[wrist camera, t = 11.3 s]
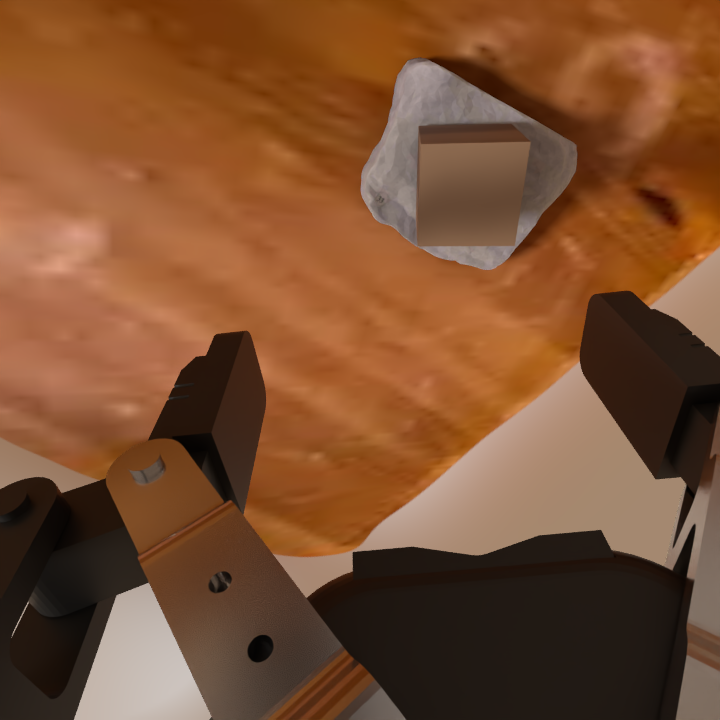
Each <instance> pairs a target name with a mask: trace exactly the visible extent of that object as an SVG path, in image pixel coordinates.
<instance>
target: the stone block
mask: <svg viewBox="0 0 720 720" xmlns="http://www.w3.org/2000/svg"><path fill="white" fill-rule="evenodd" d="M471 124H512V125H513V126H514V127H515V128H517V129H518V130H519V131H520V132H521V133H522V134H523V135H524V136H525V137H526V138H527V139H528V140H529V141H531V144H530V150H529V157H528V163H527V170H526V176H525V183H524V189H523V196H522V202H521V209H520V216H519V222H518V229H517V235H516V242H515V246H418V247H419V248H421V249H424V250H425V251H427V252H429V253H430V254H432V255H434V256H436V257H439V258H442V259H446V260H456V261H457V262H458V263H460V264H466V265H470V266H473V267H477V268H480V269H484V270H491V269H493V268H496V267H497V266H498V265H501V264H502V263H503V262H505V261H506V260H507V259H508V258H509V257H510V256H511V254H512V253H513V251H514V250H515V248H517V247H518V245H519V244H520V243H521V242H522V241H523V240H524V239H525V237H526V236H527V235H528V234H529V232H530V231H531V230H532V228H533V227H534V226H535V225H536V223H537V221H538V220H539V218H540V216H541V215H542V213H543V212H544V211H545V210H546V209H547V208H548V207H549V206H550V205H551V204H552V203H553V202H554V201H555V200H556V199H557V198H558V197H559V196H560V194H561V193H562V192H563V191H564V189H565V188H566V187H567V185H568V184H569V182H570V181H571V179H572V177H573V175H574V173H575V172H576V166H577V150H576V148H577V145H576V144H574V142H572V141H570V140H568V139H566V138H564V137H563V136H561V135H559V134H558V133H556V132H554V131H553V130H551V129H549V128H548V127H546V126H544V125H542V124H541V123H539V122H538V121H536V120H534V119H532V118H530V117H529V116H527V115H525V114H523V113H521V112H519V111H518V110H516V109H514V108H512V107H510V106H509V105H507V104H505V103H503V102H501V101H499V100H498V99H496V98H494V97H492V96H491V95H489V94H487V93H486V92H484V91H482V90H481V89H479V88H477V87H475V86H473V85H472V84H470V83H468V82H467V81H465V80H464V79H462V78H461V77H459V76H458V75H456V74H454V73H453V72H450V71H448V70H447V69H445V68H444V67H441V66H439V65H438V64H436V63H434V62H432V61H430V60H428V59H425V58H424V59H423V58H415V59H411V60H408V61H407V63H406V64H405V65H404V67H403V69H402V70H401V71H400V73H399V74H398V77H397V80H396V84H395V88H394V96H393V103H392V107H391V110H390V114H389V118H388V124H387V126H386V129H385V131H384V133H383V136H382V139H381V141H380V142H379V143H378V144H377V146H376V147H375V148H374V150H373V151H372V154H371V156H370V158H369V160H368V162H367V163H366V164H365V166H364V168H363V171H362V176H361V179H362V182H361V195H362V198H363V199H364V201H365V203H366V205H367V206H368V208H369V210H370V211H371V213H372V215H373V217H374V218H375V219H376V220H377V221H378V222H380V223H382V224H387V225H390V226H392V227H393V228H395V229H396V230H397V231H398V232H399V233H400V234H401V235H402V236H403V237H404V238H405V239H407V240H408V241H410V242H411V243H412V244H414V245H415V246H417V229H416V191H417V158H418V126H430V125H471Z"/></svg>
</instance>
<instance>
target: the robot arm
mask: <svg viewBox="0 0 720 720" xmlns="http://www.w3.org/2000/svg"><path fill="white" fill-rule="evenodd" d="M580 364H581V369H582V372H583V374H584V376H585V377H586V379H587V381H588V382H589V384H590V385H591V387H592V388H593V389H594V391H595V392H596V394H597V395H598V396H599V398H600V400H601V401H602V402H603V404H604V405H605V407H606V408H607V410H608V411H609V413H610V414H611V415H612V417H613V418H614V419H615V421H616V423H617V424H618V425H619V427H620V428H621V430H622V431H623V433H624V434H625V435H626V437H627V439H628V440H629V441H630V443H631V444H632V446H633V447H634V449H635V450H636V452H637V453H638V454H639V456H640V457H641V459H642V460H643V462H644V463H645V465H646V466H647V467H648V469H649V470H650V472H651V473H652V475H653V476H654V478H655V479H665V478H676V477H681V478H682V479H683V480H684V481H685V483H686V485H685V487H684V490H683V492H682V495H681V498H680V503H679V507H678V511H677V516H676V520H675V524H674V528H673V533H672V537H671V541H670V546H669V550H668V554H667V558H666V562H665V566H662V565H660V564H657V563H655V562H652V561H650V560H647V559H644V558H641V557H638V556H635V555H632V554H627V553H623V552H619V551H613V550H611V548H610V546H609V545H608V543H607V541H606V539H605V537H604V535H603V533H602V531H601V530H596V531H586V532H585V531H584V532H573V533H562V534H551V535H540V536H537V537H534V538H531V539H528V540H525V541H522V542H519V543H516V544H513V545H511V546H508V547H505V548H502V549H499V550H496V551H494V552H491V553H488V554H484V555H479V556H475V555H467V554H460V553H453V552H446V551H439V550H431V549H424V548H418V547H405V548H393V549H382V550H372V551H360V552H353V572H350V573H347V574H345V575H342V576H340V577H338V578H336V579H334V580H332V581H330V582H328V583H327V584H325V585H323V586H322V587H320V588H319V589H317V590H316V591H315V592H314V593H312V594H311V595H310V596H308V597H307V598H306V597H305V596H304V595H303V593H302V592H301V591H300V589H299V588H298V587H297V586H296V584H295V583H294V582H293V580H292V579H291V578H290V576H289V575H288V574H287V572H286V571H285V570H284V568H283V567H282V566H281V564H280V563H279V562H278V561H277V559H276V558H275V557H274V555H273V554H272V553H271V551H270V550H269V549H268V547H267V546H266V545H265V543H264V542H263V541H262V539H261V538H260V537H259V535H258V534H257V533H256V532H255V530H254V529H253V528H252V526H251V525H250V524H249V522H248V521H247V520H246V518H245V517H244V516H243V514H244V509H245V504H246V499H247V494H248V490H249V485H250V480H251V475H252V470H253V466H254V461H255V456H256V451H257V446H258V442H259V437H260V432H261V427H262V422H263V418H264V413H265V408H266V392H265V385H264V381H263V377H262V374H261V370H260V366H259V363H258V359H257V355H256V352H255V348H254V345H253V341H252V338H251V335H250V333H249V332H248V331H240V332H230V333H221V334H216V335H215V336H214V338H213V340H212V343H211V345H210V347H209V350H208V352H207V355H206V356H199V357H195V358H194V359H193V360H192V361H191V362H190V363H189V364H188V365H187V366H186V367H185V368H183V369H182V370H181V372H180V374H179V376H178V379H177V381H176V383H175V385H174V386H175V388H173V389H172V391H171V393H170V395H169V400H167V402H166V404H165V406H164V408H163V410H162V412H161V414H160V416H159V418H158V420H157V422H156V425H155V427H154V429H153V431H152V433H151V435H150V437H149V439H148V441H146V442H143V443H140V444H138V445H136V446H134V447H132V448H130V449H129V450H127V451H126V452H124V453H123V454H122V455H120V456H119V457H118V458H117V459H116V460H115V461H114V462H113V464H112V465H111V467H110V468H109V470H108V472H107V475H106V478H105V479H103V480H100V481H97V482H94V483H91V484H88V485H85V486H82V487H79V488H76V489H73V490H70V491H67V492H64V493H61V492H60V490H59V489H58V487H57V486H56V484H55V483H54V482H53V481H52V480H50V479H47V478H44V477H34V478H28V479H24V480H20V481H17V482H14V483H12V484H10V485H8V486H6V487H4V488H2V489H0V720H74V717H75V715H76V711H77V709H78V706H79V703H80V700H81V697H82V694H83V691H84V688H85V685H86V682H87V679H88V676H89V674H90V671H91V668H92V665H93V662H94V659H95V656H96V653H97V650H98V647H99V645H100V642H101V639H102V636H103V633H104V630H105V627H106V623H107V621H108V618H109V615H110V612H111V610H112V607H113V604H114V601H115V598H116V595H118V594H121V593H123V592H126V591H128V590H131V589H133V588H136V587H139V586H141V585H144V584H146V583H149V584H150V586H151V588H152V590H153V592H154V594H155V597H156V599H157V601H158V603H159V605H160V607H161V609H162V611H163V614H164V616H165V618H166V620H167V622H168V624H169V626H170V628H171V631H172V633H173V635H174V637H175V639H176V641H177V644H178V646H179V648H180V650H181V652H182V654H183V656H184V658H185V661H186V663H187V665H188V667H189V669H190V671H191V673H192V676H193V678H194V680H195V682H196V684H197V686H198V688H199V691H200V693H201V695H202V697H203V699H204V701H205V703H206V705H207V707H208V710H209V712H210V714H211V716H212V717H211V718H210V720H720V356H719V355H717V354H716V353H715V352H714V351H713V350H712V349H711V348H709V347H708V346H705V343H704V342H702V341H701V340H700V339H699V338H698V337H696V335H692V332H691V331H690V330H689V329H687V328H686V327H685V326H684V325H683V324H682V323H681V322H679V321H678V320H677V319H675V318H673V317H671V316H669V315H667V314H664V313H662V312H660V311H658V310H656V309H650V308H649V307H648V306H647V305H646V304H645V303H643V302H642V301H641V300H640V299H639V298H638V297H637V296H636V295H635V294H634V293H632V292H631V291H619V292H610V293H601V294H594V295H593V296H592V297H591V298H590V301H589V304H588V309H587V314H586V320H585V325H584V331H583V337H582V342H581V348H580ZM28 601H29V604H28V606H27V608H26V610H25V612H24V614H23V616H22V618H21V620H20V622H19V624H18V626H17V628H16V630H15V632H14V634H13V636H12V633H13V631H14V629H15V627H16V625H17V623H18V621H19V619H20V616H21V615H22V613H23V611H24V608H25V606H26V605H27V602H28ZM11 637H12V638H11Z"/></svg>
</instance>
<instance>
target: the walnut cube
mask: <svg viewBox="0 0 720 720" xmlns="http://www.w3.org/2000/svg"><path fill="white" fill-rule="evenodd" d="M530 144H531V141H529V140H528V139H527V138H526V137H525V136H524V135H523V134H522V133H521V132H520V131H519V130H518V129H517V128H515V127H514V126H513V125H512V124H471V125H430V126H418V158H417V191H416V229H417V247H418V246H515V242H516V235H517V229H518V222H519V216H520V209H521V202H522V196H523V189H524V183H525V176H526V170H527V163H528V157H529V150H530Z"/></svg>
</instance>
